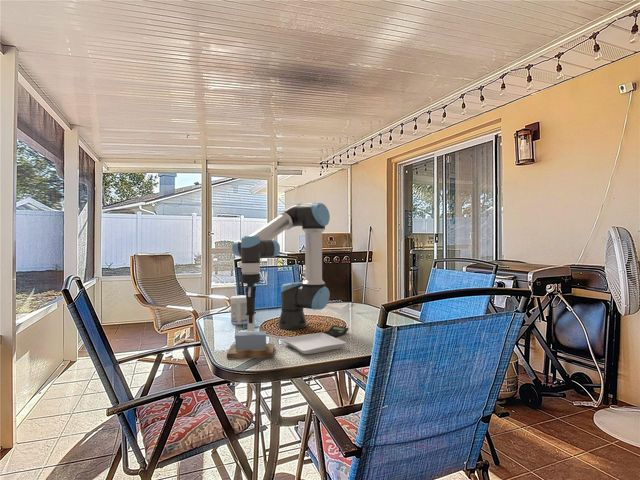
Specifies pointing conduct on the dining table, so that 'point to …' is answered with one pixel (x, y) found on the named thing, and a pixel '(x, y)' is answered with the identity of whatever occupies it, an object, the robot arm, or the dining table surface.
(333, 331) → the calculator
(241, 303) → the supplement tub
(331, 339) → the salad plate
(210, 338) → the dining table surface
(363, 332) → the dining table surface
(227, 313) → the dining table surface
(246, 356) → the board
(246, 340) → the block
